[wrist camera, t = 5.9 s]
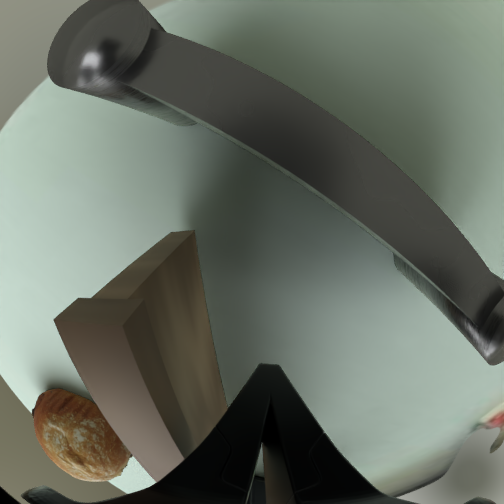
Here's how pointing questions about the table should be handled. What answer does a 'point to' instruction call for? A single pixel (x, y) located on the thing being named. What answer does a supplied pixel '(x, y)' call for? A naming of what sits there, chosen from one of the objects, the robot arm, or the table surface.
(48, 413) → the bread roll
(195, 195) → the table surface
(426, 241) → the gate frame
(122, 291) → the gate
